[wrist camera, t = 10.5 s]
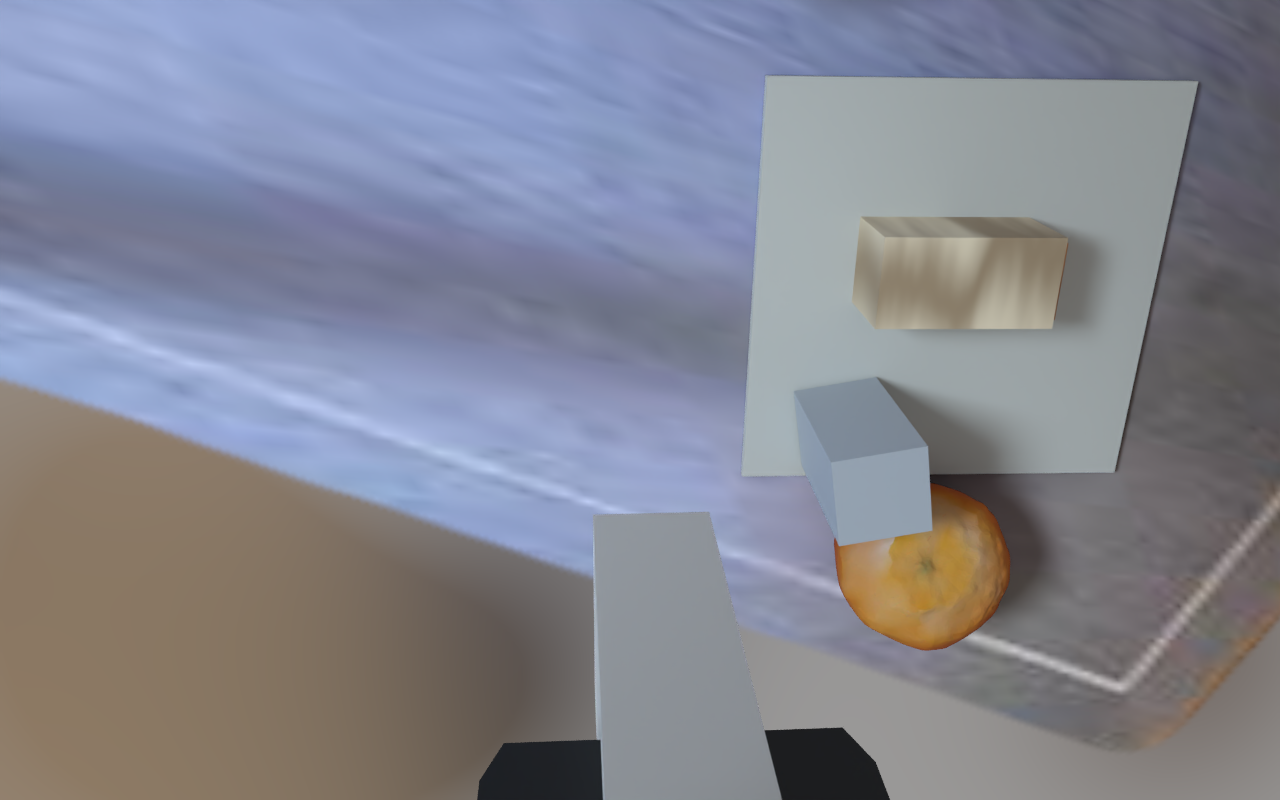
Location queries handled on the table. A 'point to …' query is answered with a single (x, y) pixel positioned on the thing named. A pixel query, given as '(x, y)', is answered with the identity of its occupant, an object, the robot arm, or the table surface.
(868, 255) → the beech block
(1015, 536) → the table surface
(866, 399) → the slate block
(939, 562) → the fruit
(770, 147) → the felt mat
